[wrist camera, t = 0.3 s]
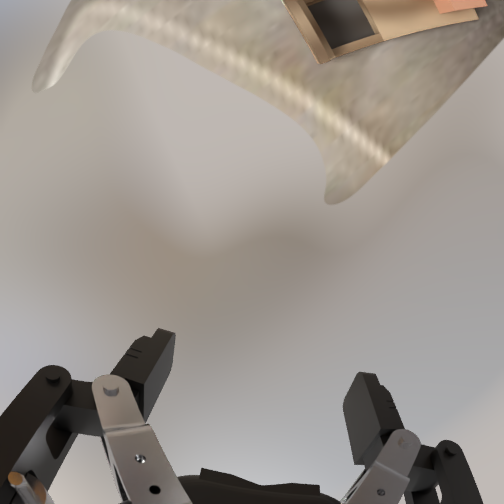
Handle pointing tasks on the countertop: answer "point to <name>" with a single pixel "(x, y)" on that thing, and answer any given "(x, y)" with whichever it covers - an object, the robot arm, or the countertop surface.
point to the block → (458, 5)
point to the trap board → (364, 22)
